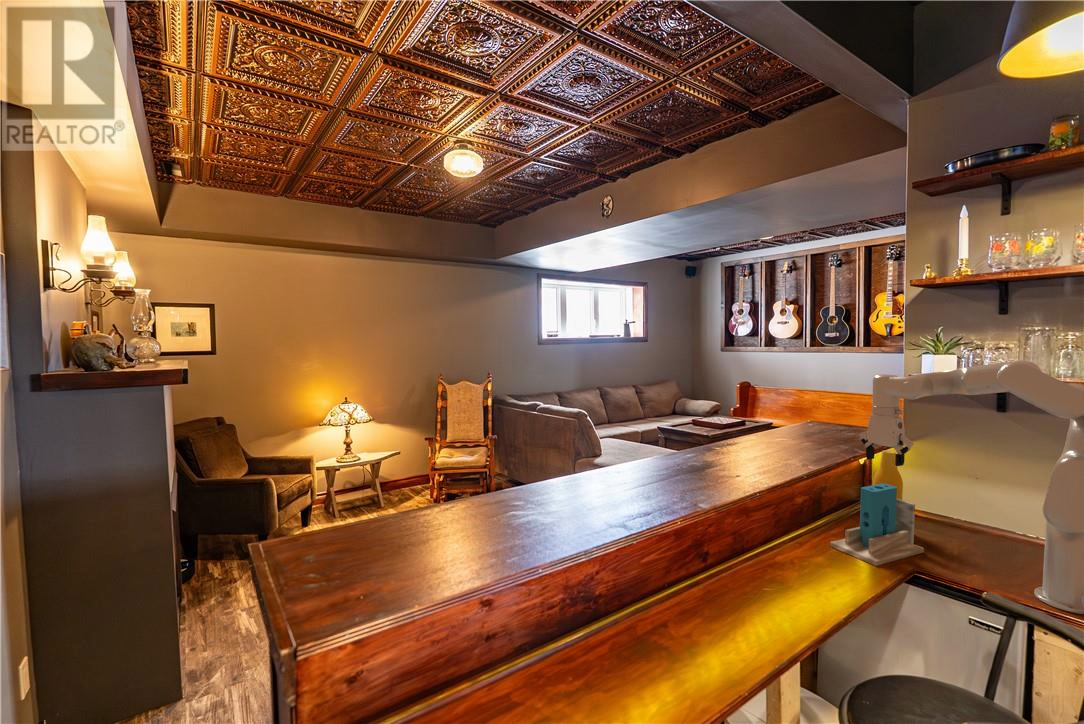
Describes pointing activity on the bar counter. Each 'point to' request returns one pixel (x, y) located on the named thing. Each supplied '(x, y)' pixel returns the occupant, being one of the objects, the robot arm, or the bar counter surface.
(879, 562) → the book stand
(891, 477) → the beer bottle
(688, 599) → the bar counter surface
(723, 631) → the bar counter surface
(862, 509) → the block
